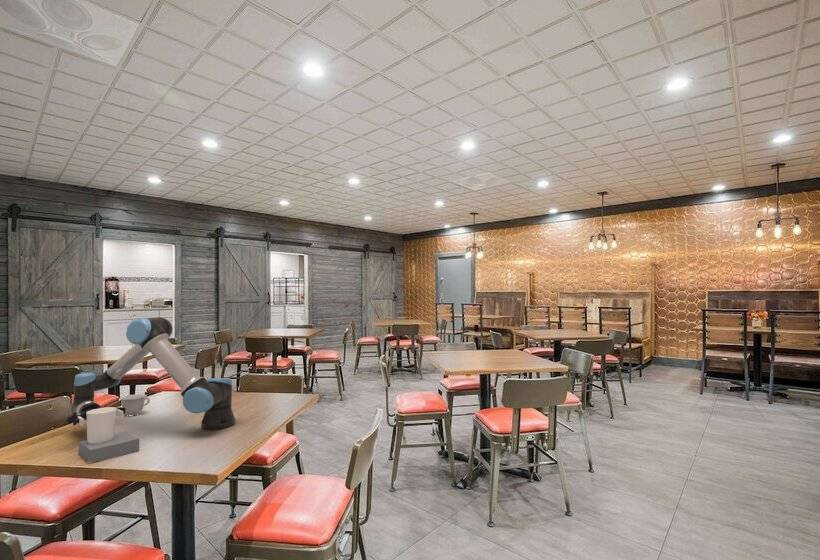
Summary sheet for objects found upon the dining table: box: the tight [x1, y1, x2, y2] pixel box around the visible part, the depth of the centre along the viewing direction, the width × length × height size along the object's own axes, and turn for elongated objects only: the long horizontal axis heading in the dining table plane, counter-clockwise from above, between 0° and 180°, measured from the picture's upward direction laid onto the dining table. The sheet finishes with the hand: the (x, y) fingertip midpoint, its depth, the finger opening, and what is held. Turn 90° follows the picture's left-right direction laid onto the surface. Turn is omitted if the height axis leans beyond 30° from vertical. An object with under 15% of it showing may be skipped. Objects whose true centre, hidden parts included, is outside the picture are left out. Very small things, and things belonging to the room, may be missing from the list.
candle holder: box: [86, 406, 117, 444], centre depth 159 cm, size 10×10×12 cm
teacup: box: [119, 393, 151, 417], centre depth 215 cm, size 12×15×10 cm
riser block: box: [77, 431, 140, 464], centre depth 159 cm, size 16×16×5 cm
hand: (103, 418), depth 165 cm, fingers open, 13 cm apart
